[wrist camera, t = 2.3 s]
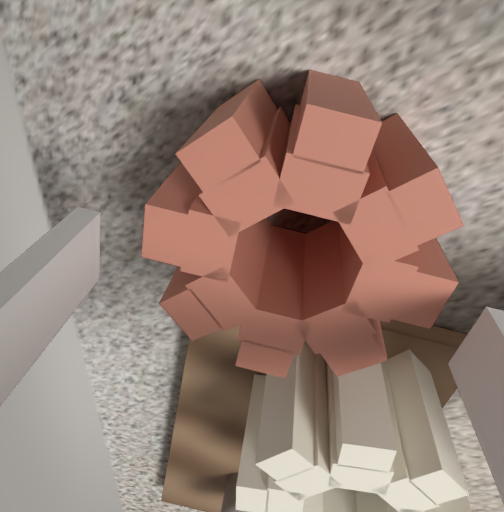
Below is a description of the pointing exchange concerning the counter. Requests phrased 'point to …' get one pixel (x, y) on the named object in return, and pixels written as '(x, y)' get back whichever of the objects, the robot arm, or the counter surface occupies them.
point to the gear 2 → (349, 441)
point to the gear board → (237, 405)
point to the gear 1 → (299, 244)
